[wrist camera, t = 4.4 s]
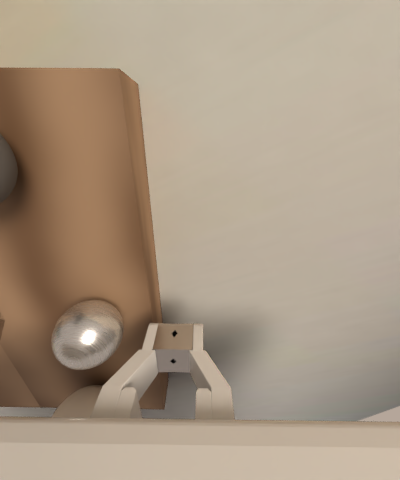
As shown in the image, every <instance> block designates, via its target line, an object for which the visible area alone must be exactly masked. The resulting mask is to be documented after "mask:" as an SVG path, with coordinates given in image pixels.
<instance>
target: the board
mask: <svg viewBox="0 0 400 480" xmlns="http://www.w3.org/2000/svg"><path fill="white" fill-rule="evenodd" d="M0 134H1V135H2V136H3V137H4V139H5V140H6V141H7V143H8V144H9V146H10V148H11V149H12V151H13V153H14V156H15V159H16V162H17V167H18V175H17V181H16V185H15V187H14V189H13V190H12V192H11V193H10V195H9V196H8V197H7V198H6V199H5V200H4V201H3V202H1V203H0V407H53V408H58V407H59V405H60V404H61V403H62V402H63V401H64V400H65V399H66V398H67V397H69V396H70V395H71V394H73V393H74V392H76V391H77V390H79V389H81V388H84V387H87V386H91V385H101V386H103V385H104V384H105V383H106V382H107V381H108V380H109V379H110V378H111V377H112V376H113V375H114V374H115V373H116V372H117V371H118V370H119V369H120V368H121V367H122V366H123V365H124V364H125V363H126V362H127V361H128V360H129V359H130V358H131V357H132V356H133V355H134V354H135V353H136V352H137V351H138V350H142V347H143V343H144V340H145V336H146V333H147V329H148V326H149V324H150V323H163V322H162V312H161V303H160V293H159V283H158V274H157V264H156V254H155V245H154V235H153V225H152V215H151V206H150V196H149V186H148V177H147V167H146V157H145V148H144V138H143V128H142V118H141V109H140V99H139V89H138V84H137V83H136V82H135V81H134V80H132V79H131V78H130V77H129V76H127V75H126V74H125V73H124V72H123V71H121V70H120V69H107V68H0ZM88 300H101V301H105V302H107V303H110V304H111V305H113V306H114V307H115V308H116V309H117V310H118V311H119V313H120V315H121V317H122V320H123V325H124V332H123V337H122V340H121V343H120V345H119V347H118V348H117V350H116V351H115V353H114V354H113V355H112V356H111V357H110V358H109V359H108V360H106V361H105V362H104V363H102V364H100V365H98V366H96V367H94V368H90V369H85V370H75V369H71V368H68V367H66V366H64V365H63V364H61V363H60V362H59V361H58V360H57V359H56V357H55V355H54V353H53V350H52V346H51V338H52V333H53V330H54V327H55V325H56V323H57V321H58V320H59V318H60V317H61V316H62V315H63V314H64V313H65V312H66V311H67V310H68V309H70V308H71V307H73V306H74V305H76V304H78V303H81V302H84V301H88ZM167 386H168V372H158V374H157V376H156V377H155V379H154V380H153V381H152V383H151V384H150V386H149V387H148V389H147V390H146V391H145V393H144V394H143V396H142V397H141V398H140V400H139V405H140V409H164V408H165V401H166V394H167Z"/></svg>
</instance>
